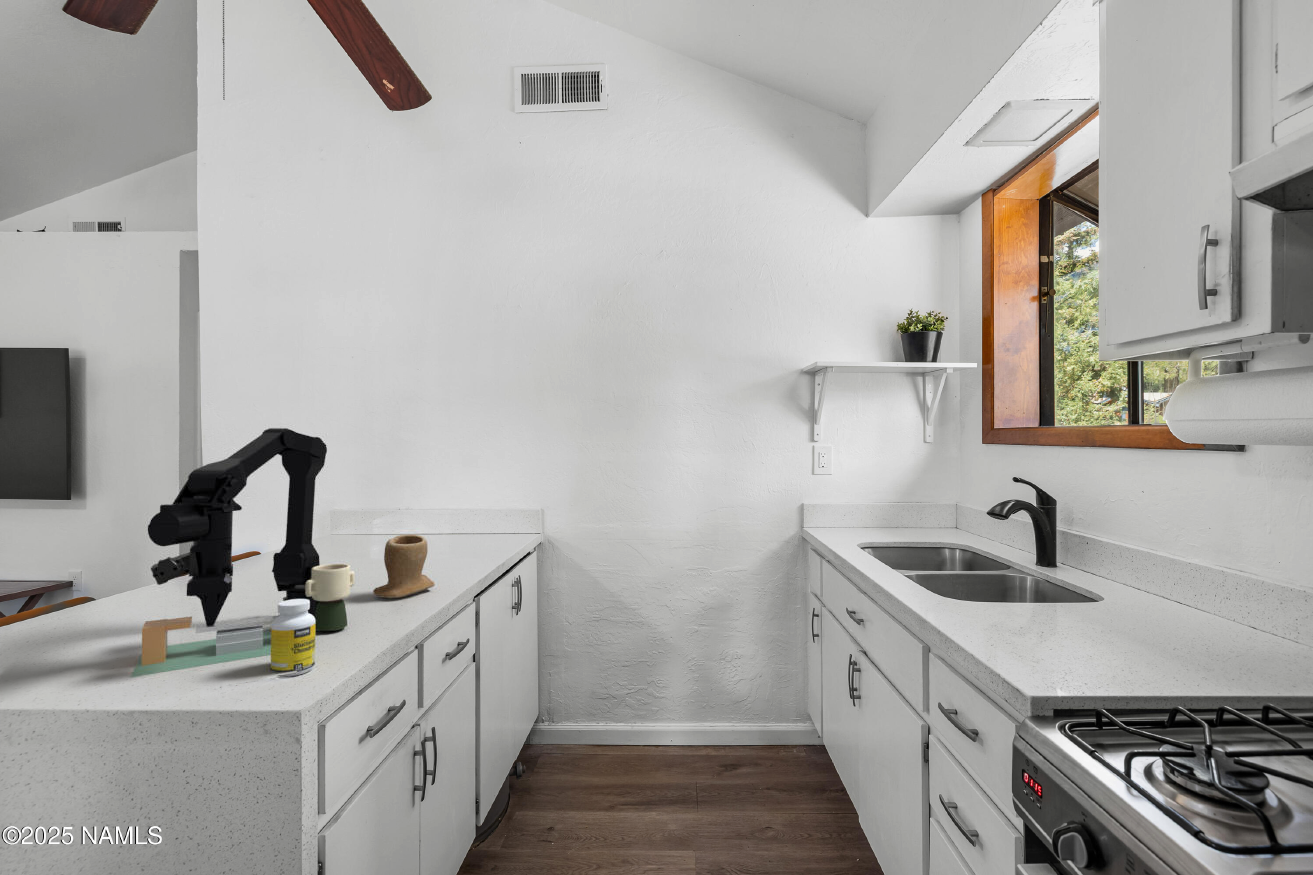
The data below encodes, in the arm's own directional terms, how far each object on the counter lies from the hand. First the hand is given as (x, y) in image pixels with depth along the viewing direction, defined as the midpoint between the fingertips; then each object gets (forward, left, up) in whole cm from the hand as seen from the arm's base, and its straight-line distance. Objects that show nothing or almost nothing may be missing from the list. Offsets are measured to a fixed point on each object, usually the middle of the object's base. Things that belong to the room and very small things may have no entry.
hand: (210, 625), depth 112 cm
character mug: (-20, -6, -6) cm, 22 cm away
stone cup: (-40, -29, -6) cm, 50 cm away
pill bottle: (-12, +16, -6) cm, 21 cm away
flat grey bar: (-5, 0, -1) cm, 5 cm away
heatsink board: (-1, 0, -6) cm, 6 cm away
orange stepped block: (+6, 0, -5) cm, 8 cm away
